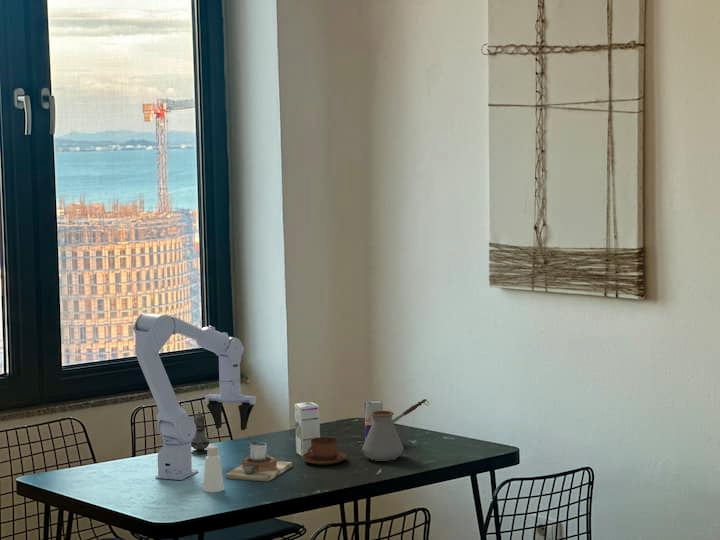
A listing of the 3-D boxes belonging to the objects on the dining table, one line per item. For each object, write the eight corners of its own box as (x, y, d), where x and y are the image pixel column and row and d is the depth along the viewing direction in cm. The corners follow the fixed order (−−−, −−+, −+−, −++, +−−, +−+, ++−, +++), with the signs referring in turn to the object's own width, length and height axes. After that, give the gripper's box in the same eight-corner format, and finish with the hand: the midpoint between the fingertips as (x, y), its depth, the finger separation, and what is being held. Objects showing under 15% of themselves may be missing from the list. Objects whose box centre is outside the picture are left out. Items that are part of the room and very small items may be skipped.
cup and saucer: (334, 469, 305) (334, 446, 304) (295, 465, 310) (294, 443, 309) (353, 459, 315) (353, 437, 315) (315, 455, 320) (314, 434, 320)
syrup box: (321, 455, 319) (320, 404, 318) (301, 457, 317) (300, 406, 316) (314, 451, 325) (313, 401, 324) (295, 453, 323) (293, 403, 322)
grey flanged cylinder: (200, 455, 322) (198, 414, 321) (185, 453, 325) (184, 412, 324) (214, 451, 326) (213, 410, 325) (200, 449, 330) (199, 408, 329)
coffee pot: (377, 465, 307) (376, 411, 306) (354, 457, 316) (353, 404, 315) (440, 454, 318) (439, 401, 317) (416, 446, 328) (415, 395, 327)
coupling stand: (267, 481, 293) (267, 468, 292) (225, 478, 297) (225, 465, 296) (292, 466, 308) (291, 454, 307) (251, 463, 312) (251, 451, 311)
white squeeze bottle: (209, 493, 282) (208, 450, 281) (198, 489, 286) (197, 446, 285) (228, 490, 285) (227, 447, 284) (217, 485, 289) (216, 443, 288)
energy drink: (362, 440, 337) (362, 400, 336) (380, 439, 339) (379, 399, 338) (368, 444, 332) (367, 403, 331) (385, 442, 334) (385, 402, 333)
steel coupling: (270, 466, 303) (269, 441, 302) (261, 470, 299) (260, 445, 298) (256, 465, 305) (255, 439, 304) (247, 469, 301) (246, 443, 300)
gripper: (260, 378, 313) (261, 427, 314) (212, 376, 318) (214, 424, 319) (249, 383, 307) (250, 432, 308) (201, 380, 311) (202, 429, 312)
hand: (231, 428), depth 313 cm, fingers open, 7 cm apart
